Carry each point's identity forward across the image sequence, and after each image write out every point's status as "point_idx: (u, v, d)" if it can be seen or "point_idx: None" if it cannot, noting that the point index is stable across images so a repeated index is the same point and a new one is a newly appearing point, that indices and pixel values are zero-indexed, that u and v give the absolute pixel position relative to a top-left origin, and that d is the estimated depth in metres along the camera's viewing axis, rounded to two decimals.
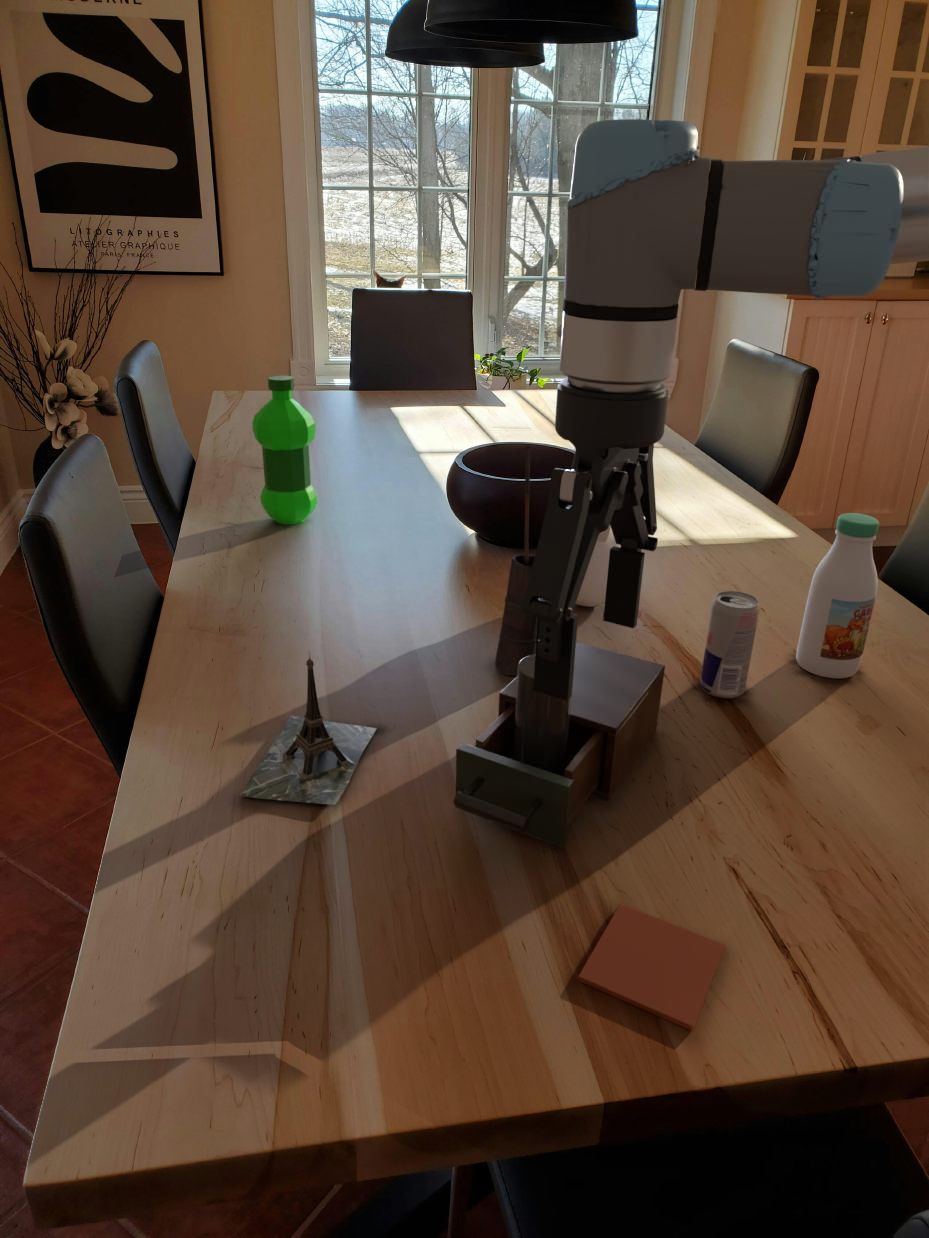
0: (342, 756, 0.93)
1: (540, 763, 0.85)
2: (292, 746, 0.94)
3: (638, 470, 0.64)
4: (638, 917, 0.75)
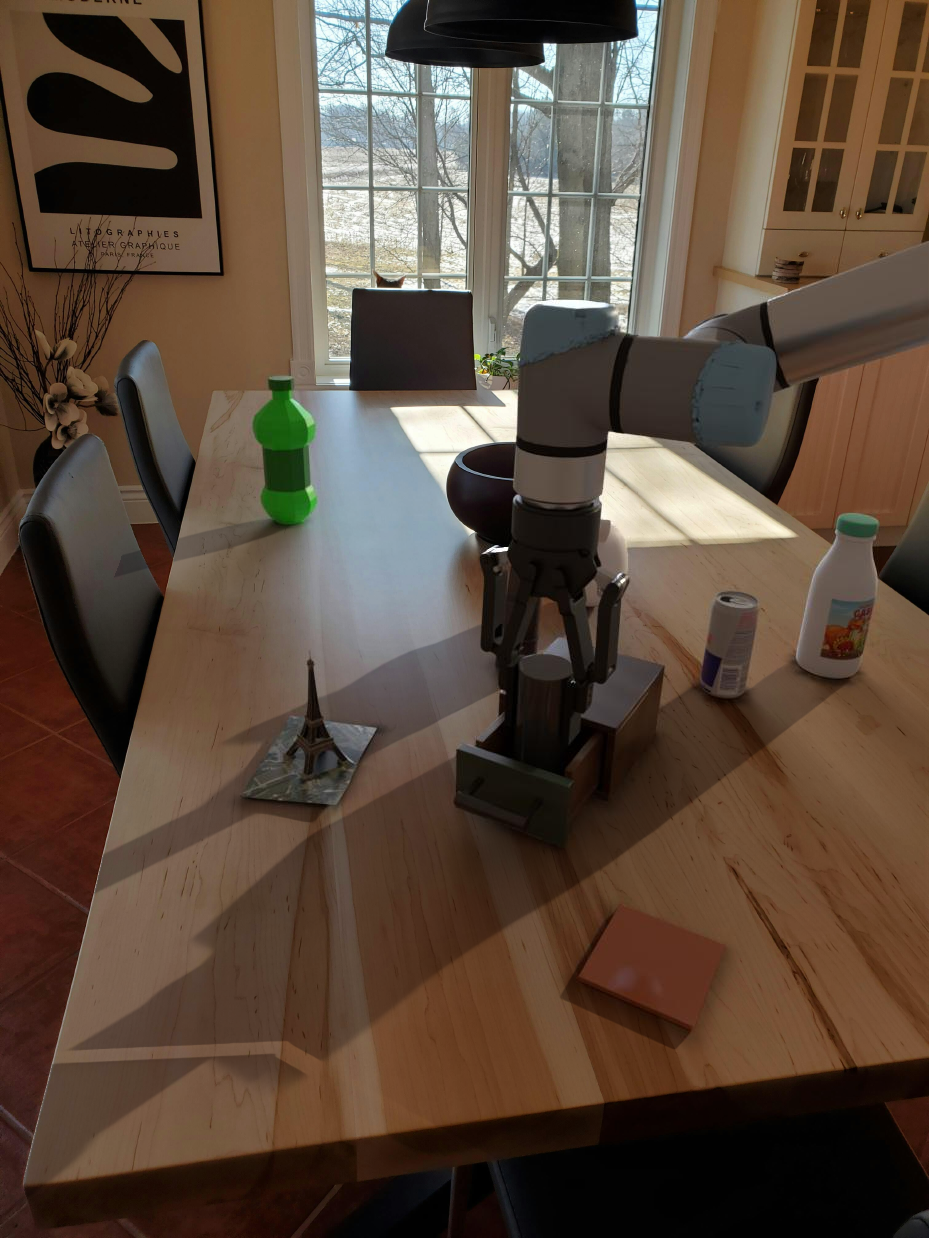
0: (343, 756, 0.93)
1: (540, 763, 0.85)
2: (292, 746, 0.93)
3: (559, 577, 0.76)
4: (638, 917, 0.75)
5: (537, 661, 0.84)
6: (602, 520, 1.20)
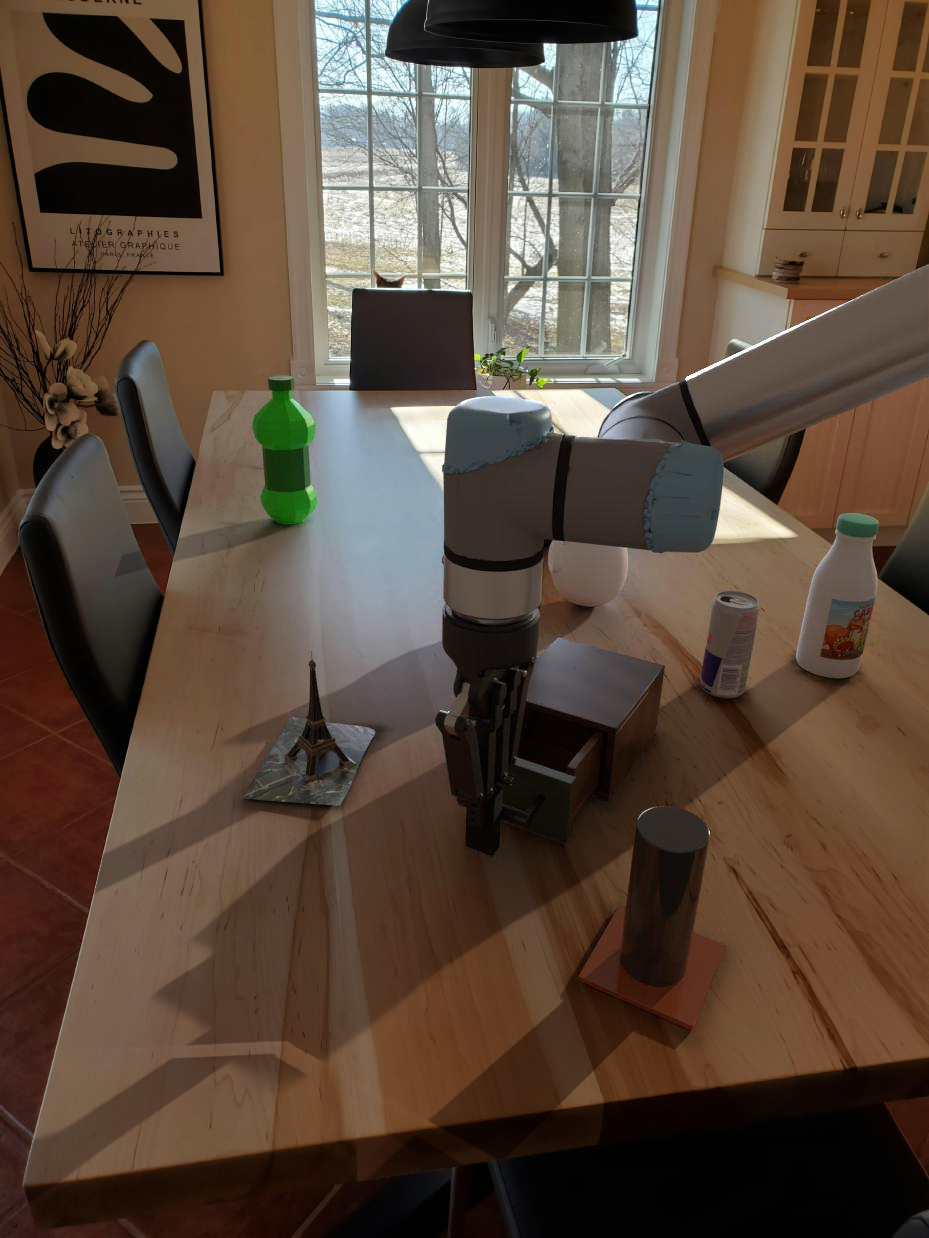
0: (344, 757, 0.93)
1: (663, 947, 0.66)
2: (294, 747, 0.93)
3: (518, 677, 0.72)
4: None
5: (660, 819, 0.66)
6: None
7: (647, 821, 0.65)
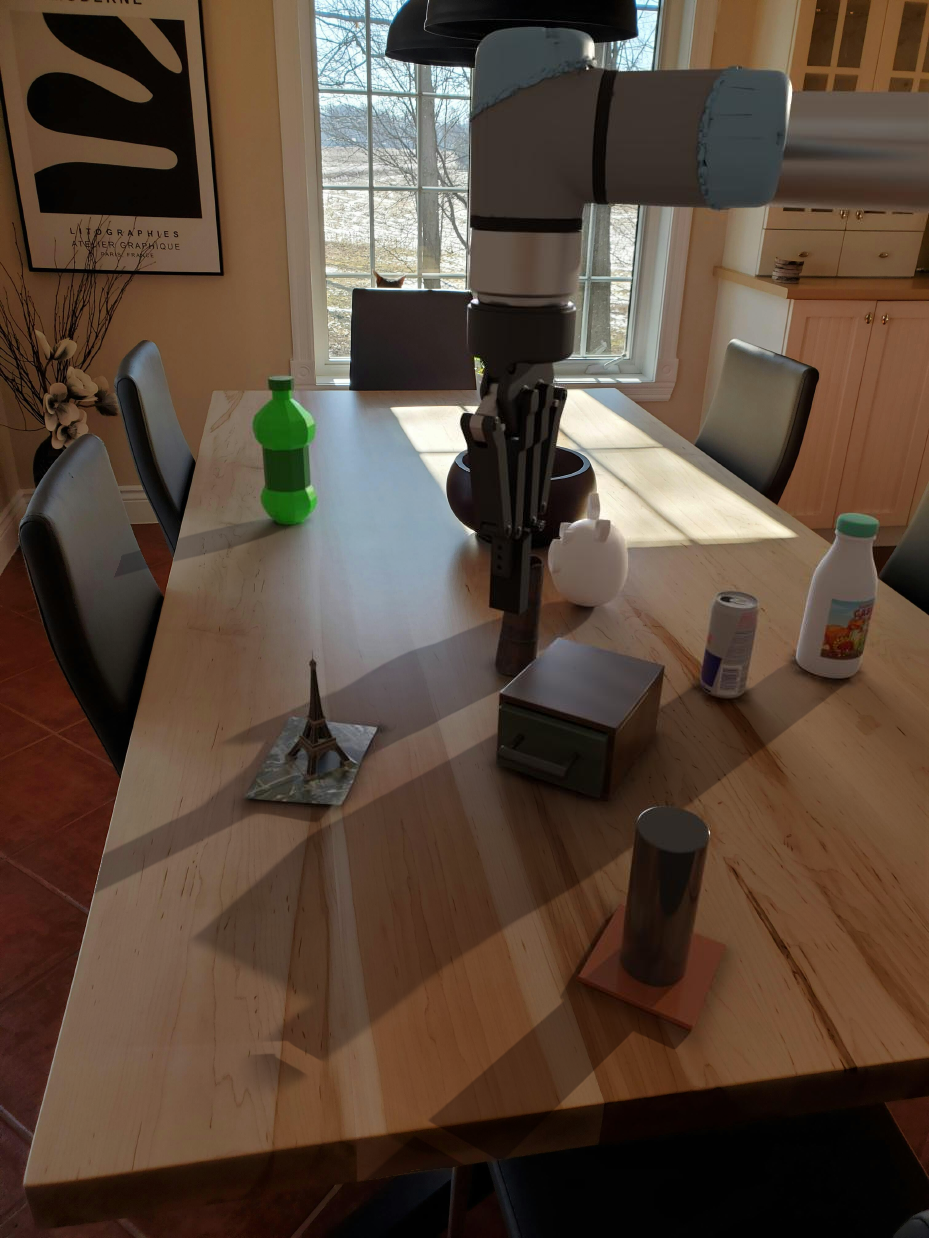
0: (345, 756, 0.93)
1: (663, 947, 0.66)
2: (295, 747, 0.93)
3: (551, 393, 0.65)
4: None
5: (660, 819, 0.66)
6: (602, 520, 1.20)
7: (647, 821, 0.65)
